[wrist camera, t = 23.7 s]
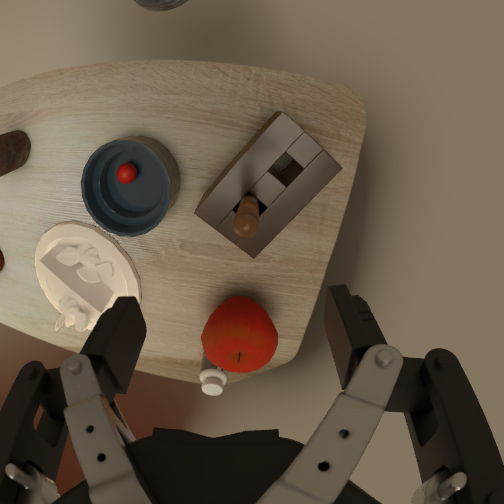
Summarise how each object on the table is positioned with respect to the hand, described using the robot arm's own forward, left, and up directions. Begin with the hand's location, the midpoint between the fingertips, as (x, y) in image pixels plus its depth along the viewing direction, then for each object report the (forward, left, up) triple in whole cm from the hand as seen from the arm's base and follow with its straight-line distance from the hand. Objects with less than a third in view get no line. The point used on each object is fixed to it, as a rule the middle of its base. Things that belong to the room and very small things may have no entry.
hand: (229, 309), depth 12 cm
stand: (+4, 0, -34) cm, 34 cm away
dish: (-10, -37, -34) cm, 51 cm away
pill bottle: (+21, -34, -34) cm, 52 cm away
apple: (+17, -21, -34) cm, 43 cm away
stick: (+3, -2, -23) cm, 23 cm away
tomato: (-13, -12, -32) cm, 36 cm away
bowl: (-11, -13, -34) cm, 38 cm away
